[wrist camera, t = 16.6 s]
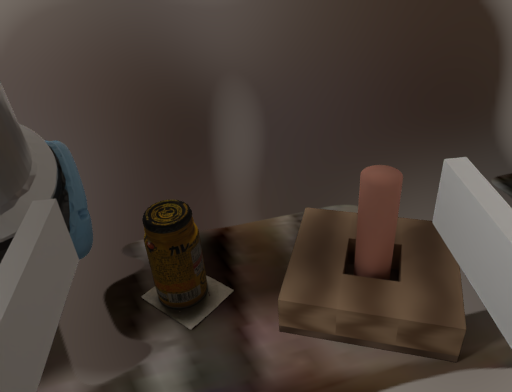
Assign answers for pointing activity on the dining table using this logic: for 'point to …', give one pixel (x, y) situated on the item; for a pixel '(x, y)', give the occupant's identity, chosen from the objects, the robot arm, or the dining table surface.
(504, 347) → the dining table surface
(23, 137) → the robot arm
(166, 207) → the condiment
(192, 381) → the dining table surface
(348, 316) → the socket block
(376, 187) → the peg
